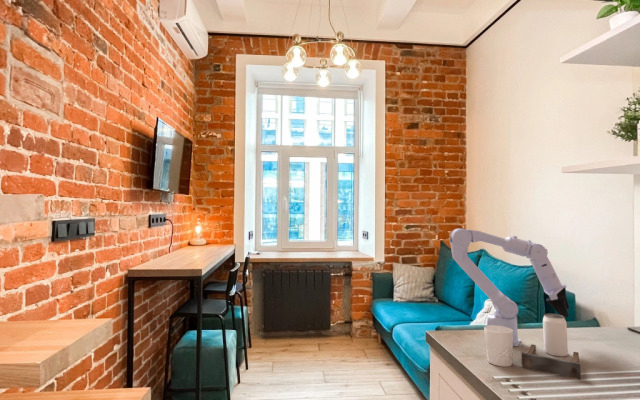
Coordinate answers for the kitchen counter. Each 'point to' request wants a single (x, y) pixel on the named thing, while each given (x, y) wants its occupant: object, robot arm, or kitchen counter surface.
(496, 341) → the white cup
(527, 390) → the kitchen counter surface
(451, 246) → the robot arm
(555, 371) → the bay
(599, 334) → the kitchen counter surface
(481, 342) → the kitchen counter surface
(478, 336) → the kitchen counter surface
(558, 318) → the can
